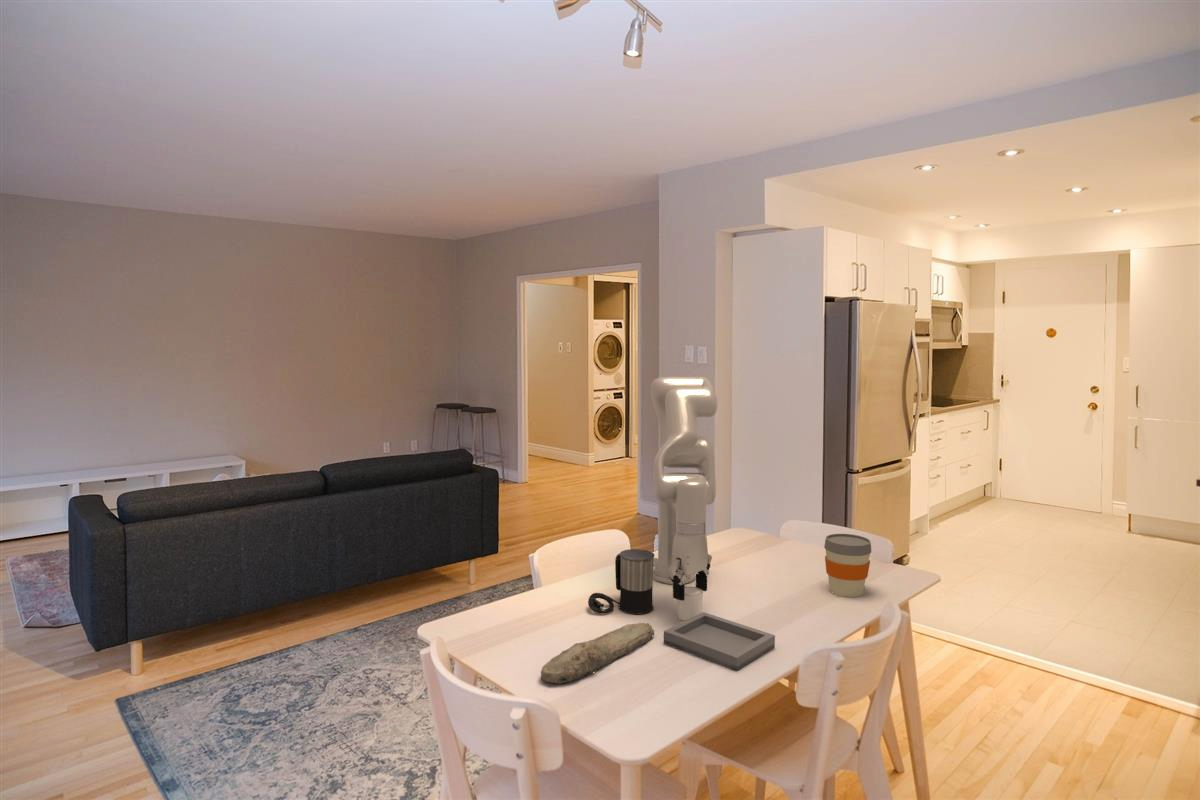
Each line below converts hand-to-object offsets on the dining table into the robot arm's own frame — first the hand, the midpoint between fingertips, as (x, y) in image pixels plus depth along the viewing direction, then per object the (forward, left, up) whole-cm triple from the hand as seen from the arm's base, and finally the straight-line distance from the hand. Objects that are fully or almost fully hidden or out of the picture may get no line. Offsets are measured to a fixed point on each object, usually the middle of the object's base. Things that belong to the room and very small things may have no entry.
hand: (690, 594), depth 181 cm
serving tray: (+14, -8, -6) cm, 18 cm away
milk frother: (-17, -8, -7) cm, 19 cm away
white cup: (-1, +1, -7) cm, 6 cm away
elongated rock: (-2, -31, -7) cm, 32 cm away
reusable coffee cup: (+20, +47, -7) cm, 51 cm away
